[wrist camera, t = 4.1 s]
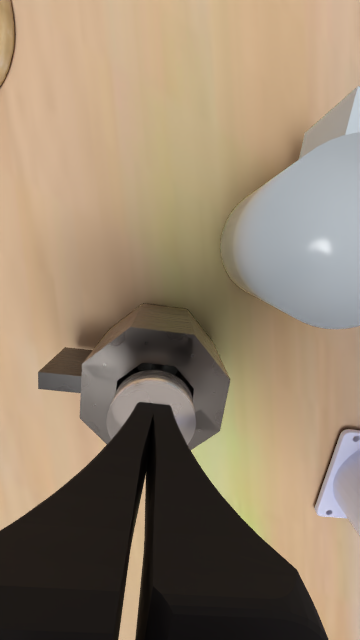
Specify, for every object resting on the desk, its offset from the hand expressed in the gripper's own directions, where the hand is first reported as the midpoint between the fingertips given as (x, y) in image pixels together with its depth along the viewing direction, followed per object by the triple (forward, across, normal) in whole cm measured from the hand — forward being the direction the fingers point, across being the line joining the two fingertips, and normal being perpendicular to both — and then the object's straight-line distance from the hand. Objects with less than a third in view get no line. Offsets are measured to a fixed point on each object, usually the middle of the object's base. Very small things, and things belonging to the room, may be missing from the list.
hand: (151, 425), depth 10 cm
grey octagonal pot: (+7, +1, 0) cm, 7 cm away
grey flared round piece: (+6, 0, 0) cm, 6 cm away
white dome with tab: (+7, -6, -8) cm, 12 cm away
